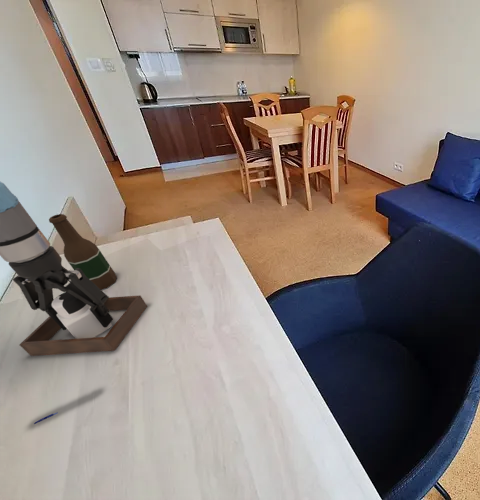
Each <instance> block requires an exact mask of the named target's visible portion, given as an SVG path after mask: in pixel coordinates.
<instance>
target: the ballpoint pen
mask: <svg viewBox="0 0 480 500" xmlns="http://www.w3.org/2000/svg"><path fill="white" fill-rule="evenodd" d="M54 415H57V412H55V413H51V414H48V415H46V416H44V417H42V418H40V419H39V420H36V421H35V422H33V424H34V425H35V424H38V423H40V422H42V421H44V420H47V419H48V418H50V417H52V416H54Z"/></svg>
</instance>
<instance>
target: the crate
mask: <svg viewBox="0 0 480 500" xmlns="http://www.w3.org/2000/svg"><path fill="white" fill-rule="evenodd" d="M93 302H94V301H93ZM104 305H105V306H106V307H107V309H108V310H109V312H111V311H124V312H123V313H122V315H121V316H120V317H119V318H118V319H117V321H116V322H115V323H114V324H113V326H112V327H110V328H111V329H110V330H108V332H107V333H106V334H105V336H96V337H94V338H79V339H76V338H66V339H53V337H54V336H55V335H56V334H57V333H58V332H59V331H60V330H62V328H61V327H60V326H59V325H58V324H57V323H56V322H55V320H54V319H52V318H51V317H50V316H49V315H48V317H47V318H46V319H45V320H44V321H43V322H41V323H40V325H38V327H36V328H35V329H34V330H33V331H31V333H30V334H28V336H26V337H25V338H24V340H22V342H20V343H19V346H20V347H21V348H22V349H23V350H24V351H25V352H26V353H27V354H28V355H29V356H31V357H39V356H52V355H68V354H69V355H71V354H84V353H85V354H86V353H99V352H114V351H116V350H117V349H118V348H119V346H120V344H121V343H122V342H123V340H124V339H125V338H126V336H128V334H129V333H130V331H131V330H132V328H133V327H134V325H135V324H136V323H137V321H138V320H139V318H141V316H142V315H143V313H144V312H145V311H146V309H147V308H148V305H147V303H146V302H145V300H144V298H143V297H142V295H140V294H139V295H127V296H111V297H110V296H109V298H108V299H107V301H106V302H105V303H104Z"/></svg>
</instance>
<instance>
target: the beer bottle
mask: <svg viewBox="0 0 480 500" xmlns="http://www.w3.org/2000/svg"><path fill="white" fill-rule="evenodd" d="M67 217H68V216H67V215H65V214H64V213H58V214H55V215H52V216H50V217H49V219H48V222H49V223H50V224H52V226H53V228H54V229H55V230H56V232H57V233H58V235H59V237H60V239H61V240H62V242H63V244H64V246H63V255H64V258H65V259H66V261H67V263H68V264H69V265H70V267H71V268H72V270H73V271H74V270H75V269H77V268H80V269H81V270H82V271H83V273H84V274H85V276H86V277H87V278H88V279H90V280H91V281H92V282H93V283H94V284H95V285H96V286H97V287H98V288H100V289H101V290H102V291H103V290H106V289H108V288H110V287H111V286H113V285H114V284H116V282H117V279H118V278H117V274H116V272H115V271H114V269H113V267H111V265H110V263H109V262H108V260H107V259H106V257H105V256H104V254H103V253H102V251H101V250H100V248H99V247H98V246H97V245H96V244H95V243H94V242H92V241H91V240H89V239H87V238H84V237H83V236H81V234H79V232H78V231H77V230H76V229H75V227H74V226H73V225H72V223H70V221H69V220H68V219H67Z"/></svg>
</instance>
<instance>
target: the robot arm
mask: <svg viewBox="0 0 480 500" xmlns="http://www.w3.org/2000/svg"><path fill="white" fill-rule="evenodd" d="M18 198H19V197H18V196H16V195H15V194H14V193H13V192H12V191H11V190H10V188H8V186H7V185H6V184H5V183H4V182H2V181H0V257H1V259H2V260H3V261H5V262H7V263H8V266H9V267H10V268H11V269H12V270H13V272H14V273H16V276H15V277H13V278H12V281H13V282H15V284H16V285H17V286H18V287H19V289H20V291H21V292H22V294H23V296H24V298H25V299H26V301H27V303H28V305H29V307H30V308H31V310H34V311H37V310H38V309H39V310H40V311H42V312H45V313H46V314H47V315H48V317H49V316H50V317H51V318H52V319H54V320H55V322H56V323H57V324H58V325H59V326H60V327H61V330H63V331H66V330H68V329H67V328H66V327H65V326H64V325H63V323H62V322H61V321H60V319H59V318H58V317H57V314H58V313H57V312H56V310H55V309H54V308H53V307H52V305H51V304H52V301H53V300H54V299H55V298H54V290H59V291H61V292H62V293H65V292H68V293H70V294H71V295H73V296H74V297H76V298H78V299H79V300H81V301H83V302H84V303H86V304H87V305H89V306H91V308H90V311H91V312H92V313H93V314H94V316H95V317H96V318H97V320H98V321H99V322H100V323H101V325H102V326H103V327H107V326H108V325H109V324H110V323H111V324H112V322H113V321H114V318H113V316H112V315H111V314H110V311H109V310H108V309H107V307H106V306H105V305H104V303H105V302H106V301H107V299H108V298H110V296H108V295H107V294H106V293H105V292H104V291H103V289H102V290H101V289H100V288H98V287H97V286H96V285H95V284H94V283H93V282H92V281H91V280H90V279H88V278H87V277H86V276H85V274H84V273H83V271H82V270H81V269H80V268H77V269H75V270H74V269H73V270H68V269H67V268H66V267H64V265H63V264H62V262H63V261H62V260H63V259H62V256H61V255H60V253H58V251H57V250H56V249H55V247H54V246H52V245H51V243H50V241H49V240H48V238H47V237H46V236H45V235H44V233H43V232H42V230H40V228H39V227H38V225H37V224H36V223H35V221H34V219H33V218H32V217H31V216H30V214H29V213H28V211H27V210H26V209H25V207H24V206H23V205H22V204H21V202H20V200H19V199H18ZM68 282H69V283H68ZM93 301H94V302H93Z"/></svg>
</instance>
